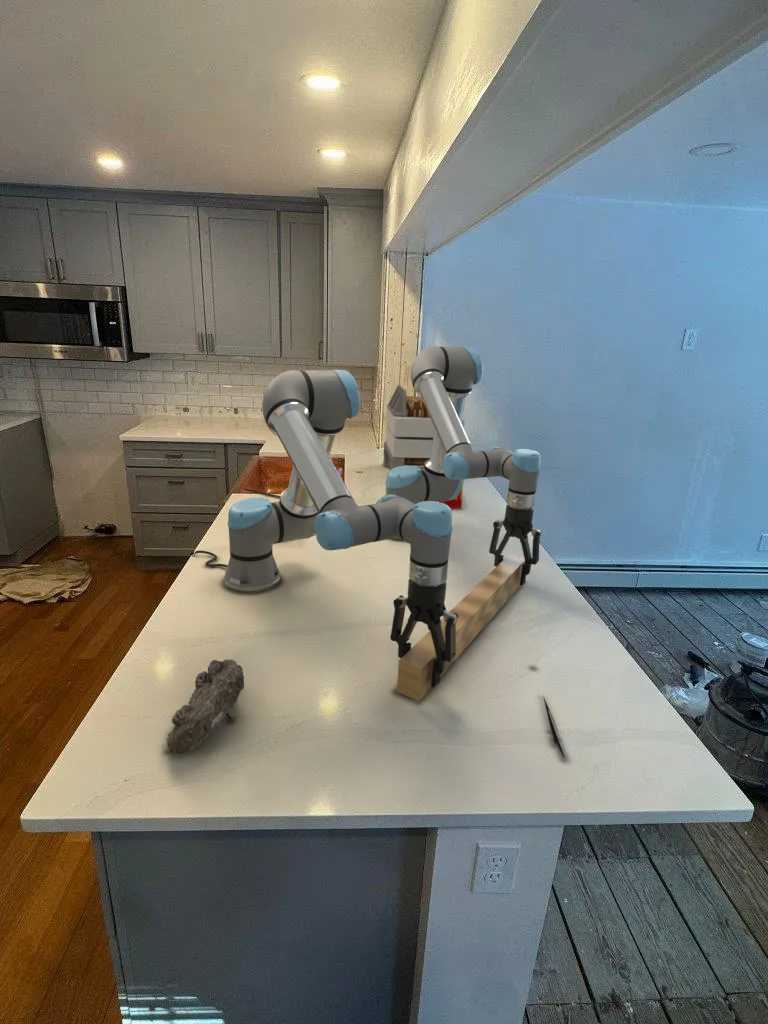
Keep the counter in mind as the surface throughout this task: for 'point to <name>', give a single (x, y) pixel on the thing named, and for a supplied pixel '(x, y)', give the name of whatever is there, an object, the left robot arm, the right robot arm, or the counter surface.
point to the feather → (553, 727)
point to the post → (460, 626)
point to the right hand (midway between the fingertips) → (510, 580)
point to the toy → (455, 500)
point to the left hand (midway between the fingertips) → (419, 677)
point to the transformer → (407, 431)
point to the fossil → (206, 705)
